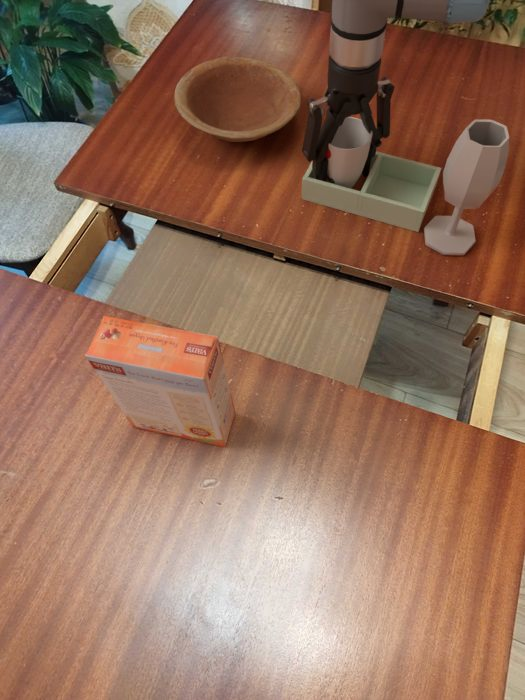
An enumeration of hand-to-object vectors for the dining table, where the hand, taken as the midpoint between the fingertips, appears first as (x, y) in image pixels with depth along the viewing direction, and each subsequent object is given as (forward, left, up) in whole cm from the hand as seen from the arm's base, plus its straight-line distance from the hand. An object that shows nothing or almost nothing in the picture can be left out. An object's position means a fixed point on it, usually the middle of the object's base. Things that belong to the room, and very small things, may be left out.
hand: (342, 178), depth 97 cm
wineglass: (-21, +5, -2) cm, 22 cm away
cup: (0, 0, 0) cm, 1 cm away
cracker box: (+5, +51, -2) cm, 52 cm away
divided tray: (-5, 0, -2) cm, 5 cm away
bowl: (+24, -9, -2) cm, 26 cm away
